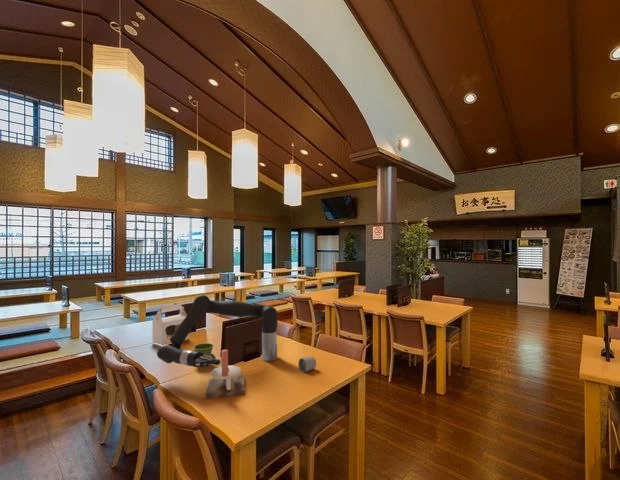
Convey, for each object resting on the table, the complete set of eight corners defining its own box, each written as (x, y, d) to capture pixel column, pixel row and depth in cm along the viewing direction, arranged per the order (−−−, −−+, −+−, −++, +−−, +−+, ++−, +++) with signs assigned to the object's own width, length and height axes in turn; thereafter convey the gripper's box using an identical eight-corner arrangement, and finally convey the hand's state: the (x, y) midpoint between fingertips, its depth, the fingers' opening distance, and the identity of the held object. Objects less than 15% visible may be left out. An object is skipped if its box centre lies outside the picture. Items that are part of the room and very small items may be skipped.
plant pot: (207, 369, 180) (207, 349, 180) (189, 367, 182) (189, 348, 182) (217, 361, 191) (217, 343, 191) (200, 360, 194) (200, 342, 194)
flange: (221, 374, 164) (221, 341, 164) (245, 377, 160) (245, 343, 160) (204, 386, 149) (204, 351, 150) (230, 390, 145) (230, 353, 146)
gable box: (161, 347, 220) (161, 308, 221) (151, 344, 227) (151, 306, 228) (189, 339, 238) (189, 303, 239) (179, 336, 246) (179, 302, 246)
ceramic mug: (317, 370, 176) (317, 356, 176) (306, 374, 171) (306, 360, 171) (305, 365, 184) (305, 352, 184) (294, 368, 179) (294, 355, 179)
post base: (244, 378, 165) (244, 364, 166) (244, 394, 148) (244, 377, 148) (209, 382, 162) (209, 367, 162) (205, 398, 144) (205, 381, 144)
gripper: (181, 355, 151) (210, 359, 145) (200, 346, 163) (227, 350, 157) (181, 370, 151) (210, 375, 144) (200, 361, 163) (227, 365, 157)
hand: (219, 362), depth 151 cm, fingers closed
